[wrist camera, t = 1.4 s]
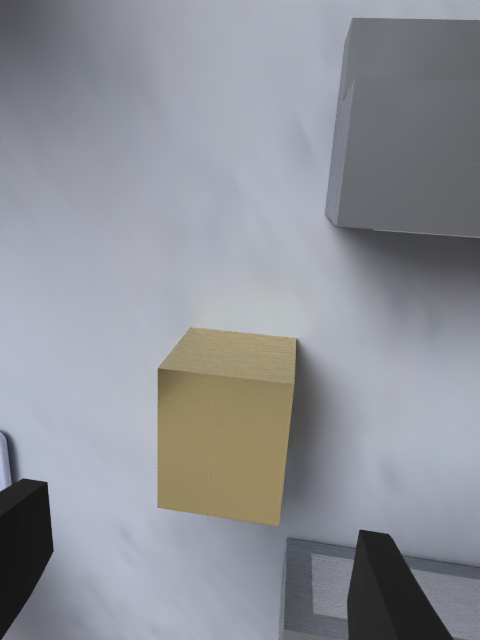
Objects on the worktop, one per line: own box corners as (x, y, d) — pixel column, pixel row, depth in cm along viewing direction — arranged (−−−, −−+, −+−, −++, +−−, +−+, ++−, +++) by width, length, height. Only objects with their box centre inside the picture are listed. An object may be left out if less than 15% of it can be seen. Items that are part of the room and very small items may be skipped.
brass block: (188, 440, 18) (157, 507, 14) (191, 326, 16) (157, 368, 13) (284, 452, 17) (278, 526, 14) (296, 337, 16) (294, 383, 12)
